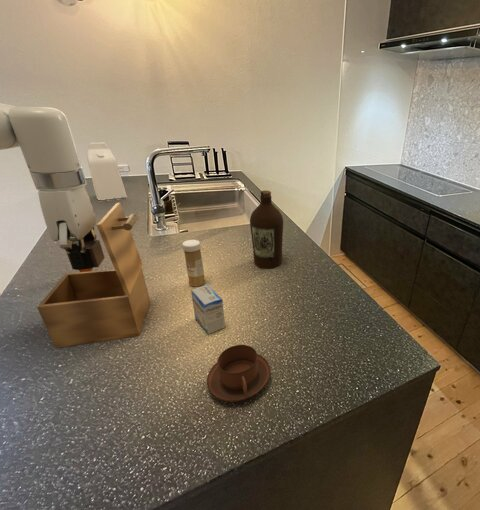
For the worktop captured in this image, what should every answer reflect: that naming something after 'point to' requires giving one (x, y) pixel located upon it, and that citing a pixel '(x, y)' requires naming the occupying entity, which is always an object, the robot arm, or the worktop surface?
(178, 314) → the worktop surface
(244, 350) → the cup and saucer
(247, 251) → the worktop surface
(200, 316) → the medicine box
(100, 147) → the milk
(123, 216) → the lid
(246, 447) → the worktop surface
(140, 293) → the chest
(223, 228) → the worktop surface
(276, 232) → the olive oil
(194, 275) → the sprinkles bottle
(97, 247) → the block
